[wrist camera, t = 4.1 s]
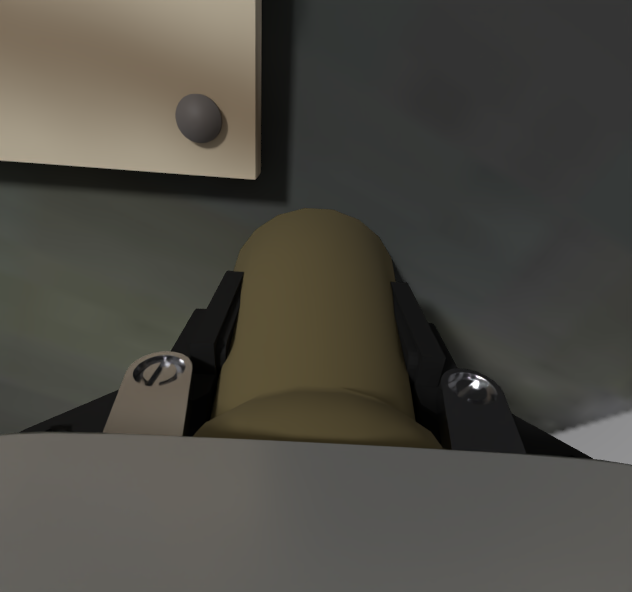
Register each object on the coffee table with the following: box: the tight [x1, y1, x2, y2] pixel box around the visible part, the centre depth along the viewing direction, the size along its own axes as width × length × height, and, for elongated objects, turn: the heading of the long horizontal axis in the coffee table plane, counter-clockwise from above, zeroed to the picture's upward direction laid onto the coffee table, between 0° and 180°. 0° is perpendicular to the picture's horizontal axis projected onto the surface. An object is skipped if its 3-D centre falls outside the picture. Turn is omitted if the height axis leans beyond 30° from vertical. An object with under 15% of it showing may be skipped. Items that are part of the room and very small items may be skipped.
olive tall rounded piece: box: [192, 208, 443, 449], centre depth 9 cm, size 6×6×11 cm
